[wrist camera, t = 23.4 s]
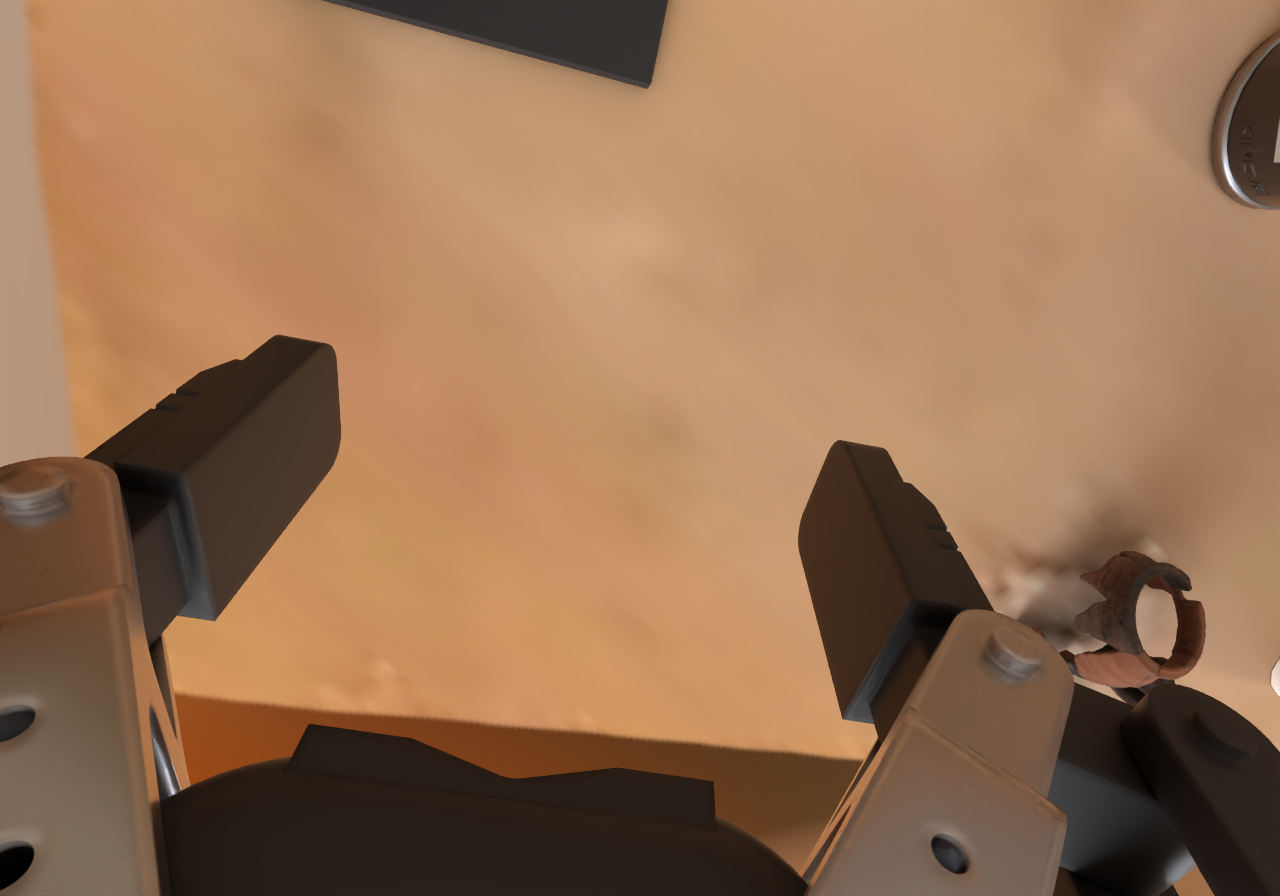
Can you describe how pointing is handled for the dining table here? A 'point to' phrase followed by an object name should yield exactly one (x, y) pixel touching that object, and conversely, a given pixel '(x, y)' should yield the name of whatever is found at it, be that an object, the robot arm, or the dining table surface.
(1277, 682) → the foam cup
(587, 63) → the base pad
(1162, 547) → the dining table surface
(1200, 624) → the brown curved piece
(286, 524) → the robot arm
